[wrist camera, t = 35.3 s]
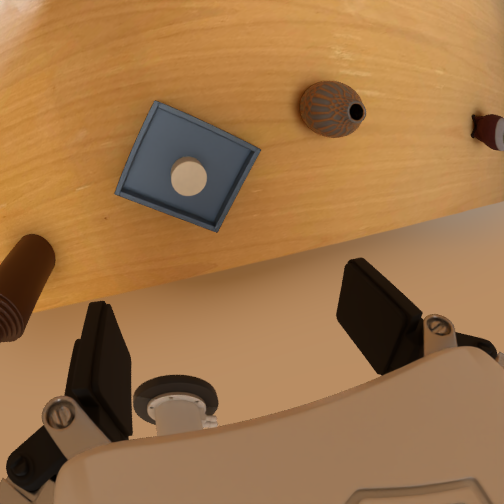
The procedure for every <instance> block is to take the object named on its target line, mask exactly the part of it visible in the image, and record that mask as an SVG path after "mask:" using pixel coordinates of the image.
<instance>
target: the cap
mask: <svg viewBox="0 0 504 504" xmlns="http://www.w3.org/2000/svg"><path fill="white" fill-rule="evenodd" d="M171 182H172V186H173V188H174V189H175V190H176V191H177V192H178V193H179V194H181V195H184V196H192V195H195V194H198V193H199V192H200V191H201V190H202V189H203V188H204V187H205V185H206V182H207V174H206V171H205V169H204V168H203V166H202V164H201V163H200V162H199V161H198V160H197V159H196V158H193V157H182V158H180V159H178V160H177V161H176V162H175V163H174V164H173V166H172V168H171Z"/></svg>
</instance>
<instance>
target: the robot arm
mask: <svg viewBox="0 0 504 504" xmlns="http://www.w3.org/2000/svg"><path fill="white" fill-rule="evenodd" d="M336 316H337V320H338V322H339V323H340V324H341V326H342V327H343V328H344V330H345V331H346V332H347V334H348V335H349V336H350V338H351V339H352V340H353V342H354V343H355V344H356V346H357V347H358V348H359V350H360V351H361V352H362V354H363V355H364V356H365V358H366V359H367V360H368V362H369V363H370V364H371V366H372V367H373V369H374V370H375V371H376V373H377V374H380V375H382V376H380V377H378V378H376V379H374V380H371V381H368V382H366V383H364V384H361V385H359V386H356V387H354V388H351V389H348V390H345V391H343V392H340V393H337V394H334V395H332V396H329V397H326V398H323V399H320V400H317V401H314V402H311V403H308V404H305V405H302V406H298V407H295V408H292V409H288V410H285V411H281V412H278V413H274V414H270V415H267V416H262V417H259V418H255V419H250V420H246V421H242V422H238V423H233V424H228V425H223V426H219V427H217V425H218V424H217V421H216V416H213V415H210V416H209V415H206V414H205V412H206V405H205V402H204V400H203V399H202V398H200V397H199V396H197V395H195V394H191V393H187V392H169V393H164V394H160V395H158V396H156V397H154V398H153V399H151V400H150V401H149V403H148V405H147V412H148V415H149V416H150V417H151V418H152V419H153V420H155V421H156V429H157V436H155V437H146V438H139V439H133V440H129V439H128V436H132V433H133V431H132V406H131V357H130V354H129V351H128V349H127V346H126V344H125V341H124V339H123V337H122V334H121V331H120V329H119V326H118V323H117V321H116V318H115V315H114V313H113V310H112V307H111V305H110V304H106V303H105V301H98V302H91V303H89V306H88V310H87V314H86V318H85V322H84V326H83V331H82V335H81V339H77V340H76V341H75V344H74V348H73V353H72V357H71V362H70V367H69V372H68V378H67V384H66V389H65V396H59V397H55V398H53V399H51V400H50V401H49V402H48V403H47V404H46V405H45V407H44V409H43V412H42V422H43V424H44V425H43V426H42V427H41V428H40V429H39V430H37V431H36V432H35V433H34V434H33V435H32V436H31V437H29V438H28V439H27V440H26V441H25V442H24V443H23V444H21V445H20V446H19V447H18V448H17V449H16V450H15V451H13V452H12V453H11V455H10V456H9V458H8V460H7V464H6V470H7V474H8V477H7V479H4V478H3V479H2V480H1V482H0V504H504V354H503V353H501V352H499V353H498V354H497V351H496V349H495V347H494V345H493V344H492V343H491V342H490V341H488V340H485V339H482V338H478V337H474V336H470V335H465V334H461V333H457V332H455V328H454V325H453V324H452V322H451V321H450V320H449V319H447V318H446V317H444V316H441V315H438V314H431V315H428V316H426V317H425V319H424V320H423V319H422V318H421V316H422V311H421V310H419V308H418V307H417V306H415V305H414V304H413V303H412V302H411V301H410V300H409V299H408V298H407V297H406V296H405V295H404V294H403V293H402V292H400V291H399V290H398V289H397V288H396V287H395V286H394V285H393V284H392V283H391V282H390V281H388V280H387V279H386V278H385V277H384V276H383V275H382V274H381V273H380V272H379V271H377V270H376V269H375V268H374V267H373V266H372V265H371V264H369V263H368V262H367V261H366V260H365V259H364V258H356V259H351V260H349V261H348V264H346V265H345V268H344V275H343V280H342V287H341V292H340V297H339V303H338V308H337V313H336ZM204 427H208V429H203V428H204Z"/></svg>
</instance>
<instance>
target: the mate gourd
mask: <svg viewBox="0 0 504 504" xmlns="http://www.w3.org/2000/svg"><path fill="white" fill-rule="evenodd" d="M472 119H473V121H474V124H475V129H474V130H473V132H472V134H471V137H472V138H474V137H476V138H477V139H479V140H480V141H482V142H484V143H485V144H486V145H487V146H488V147H490V148H491V149H493V150H499V151H504V118H502V117H501V116H498V115H493V114H490V115H486V116H484V117H482V116H481V117H475V115H472Z"/></svg>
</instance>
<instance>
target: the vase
mask: <svg viewBox="0 0 504 504" xmlns="http://www.w3.org/2000/svg"><path fill="white" fill-rule="evenodd" d="M300 112H301V116H302V118H303V120H304V122H305V123H306V125H307V126H308V127H309V128H310V129H311V130H313V131H314V132H316V133H318V134H320V135H322V136H326V137H331V138H338V137H343V136H347V135H349V134H351V133H352V132H354V131H355V130H356V129H357V128H358V127H359V126H360V124H361V122H362V121H363V120H364V118H365V116H366V109H365V107H364V105H363V103H362V101H361V99H360V97H359V95H358V94H357V93H356V92H355V91H354V90H353V89H352V88H351V87H349V86H347V85H345V84H343V83H341V82H337V81H323V82H319V83H316V84H314V85H312V86H311V87H310V88H308V89H307V90H306V91H305V93H304V94H303V96H302V99H301V102H300Z"/></svg>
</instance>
